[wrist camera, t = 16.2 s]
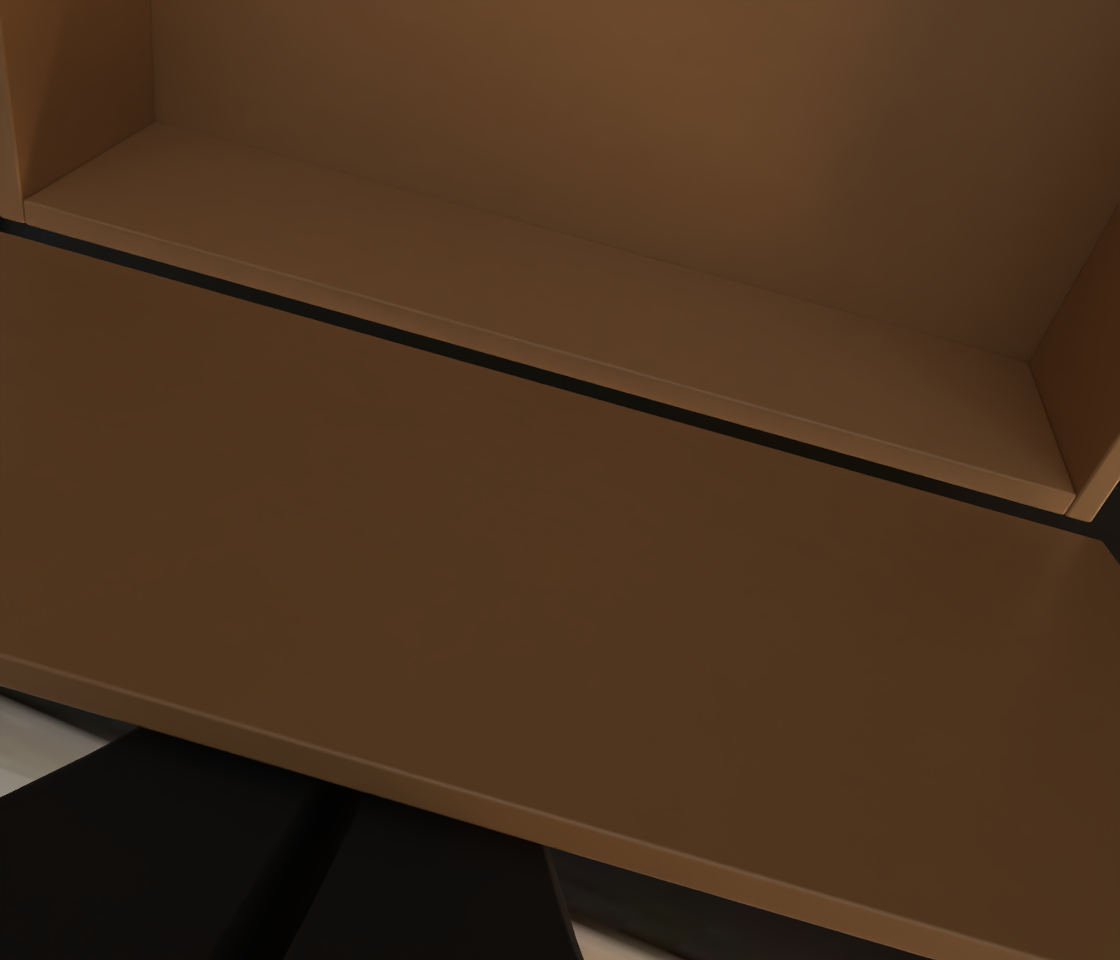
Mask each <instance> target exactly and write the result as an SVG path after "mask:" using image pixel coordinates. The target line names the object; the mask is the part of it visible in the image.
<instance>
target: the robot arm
mask: <svg viewBox="0 0 1120 960" xmlns="http://www.w3.org/2000/svg"><path fill="white" fill-rule="evenodd" d="M0 960H584V959H583V956H582V954H581V951H580V948H579V945H578V942H577V940H576V937H575V933H574V930H573V927H572V923H571V920H570V917H569V913H568V910H567V907H566V903H565V900H564V897H563V893H562V890H561V887H560V883H559V880H558V877H557V873H556V870H555V867H554V863H553V860H552V856H551V852H550V848H549V846H545V845H542V844H539V843H535V842H532V841H528V840H525V839H522V838H518V837H515V836H511V835H508V834H504V833H501V832H498V831H494V830H491V829H487V828H484V827H481V826H477V825H474V824H470V823H467V822H464V821H460V820H457V819H453V818H450V817H446V816H443V815H440V814H436V813H433V812H429V811H426V810H423V809H419V808H416V807H412V806H409V805H406V804H402V803H399V802H395V801H392V800H388V799H385V798H382V797H378V796H375V795H371V794H368V793H365V792H361V791H358V790H354V789H351V788H348V787H344V786H341V785H337V784H334V783H331V782H327V781H324V780H320V779H317V778H313V777H310V776H307V775H303V774H300V773H296V772H293V771H290V770H286V769H283V768H279V767H276V766H273V765H269V764H266V763H262V762H259V761H255V760H252V759H249V758H245V757H242V756H238V755H235V754H232V753H228V752H225V751H221V750H218V749H215V748H211V747H208V746H204V745H201V744H197V743H194V742H191V741H187V740H184V739H180V738H177V737H174V736H170V735H167V734H163V733H160V732H157V731H153V730H150V729H146V728H143V727H140V726H139V727H137V728H136V729H134V730H132V731H130V732H129V733H127V734H125V735H123V736H122V737H120V738H118V739H116V740H114V741H113V742H111V743H109V744H107V745H105V746H103V747H102V748H100V749H98V750H96V751H94V752H92V753H90V754H88V755H86V756H84V757H82V758H80V759H78V760H76V761H74V762H72V763H70V764H68V765H66V766H64V767H62V768H60V769H58V770H56V771H54V772H52V773H49V774H47V775H45V776H43V777H41V778H39V779H37V780H35V781H33V782H31V783H29V784H27V785H25V786H23V787H21V788H19V789H17V790H15V791H13V792H11V793H9V794H6V795H4V796H2V797H0Z"/></svg>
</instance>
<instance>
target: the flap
mask: <svg viewBox="0 0 1120 960" xmlns="http://www.w3.org/2000/svg"><path fill="white" fill-rule="evenodd" d="M0 686H3V687H7V688H10V689H13V690H17V691H20V692H24V693H27V694H30V695H34V696H37V697H41V698H44V699H47V700H51V701H54V702H58V703H61V704H64V705H68V706H71V707H75V708H78V709H82V710H85V711H88V712H92V713H95V714H99V715H102V716H105V717H109V718H112V719H116V720H119V721H122V722H126V723H129V724H133V725H136V726H140V727H143V728H146V729H150V730H153V731H157V732H160V733H163V734H167V735H170V736H174V737H177V738H180V739H184V740H187V741H191V742H194V743H197V744H201V745H204V746H208V747H211V748H215V749H218V750H221V751H225V752H228V753H232V754H235V755H238V756H242V757H245V758H249V759H252V760H255V761H259V762H262V763H266V764H269V765H273V766H276V767H279V768H283V769H286V770H290V771H293V772H296V773H300V774H303V775H307V776H310V777H313V778H317V779H320V780H324V781H327V782H331V783H334V784H337V785H341V786H344V787H348V788H351V789H354V790H358V791H361V792H365V793H368V794H371V795H375V796H378V797H382V798H385V799H388V800H392V801H395V802H399V803H402V804H406V805H409V806H412V807H416V808H419V809H423V810H426V811H429V812H433V813H436V814H440V815H443V816H446V817H450V818H453V819H457V820H460V821H464V822H467V823H470V824H474V825H477V826H481V827H484V828H487V829H491V830H494V831H498V832H501V833H504V834H508V835H511V836H515V837H518V838H522V839H525V840H528V841H532V842H535V843H539V844H542V845H545V846H549V847H552V848H556V849H559V850H562V851H566V852H569V853H573V854H576V855H579V856H583V857H586V858H590V859H593V860H597V861H600V862H603V863H607V864H610V865H614V866H617V867H620V868H624V869H627V870H631V871H634V872H637V873H641V874H644V875H648V876H651V877H655V878H658V879H661V880H665V881H668V882H672V883H675V884H678V885H682V886H685V887H689V888H692V889H695V890H699V891H702V892H706V893H709V894H713V895H716V896H719V897H723V898H726V899H730V900H733V901H736V902H740V903H743V904H747V905H750V906H753V907H757V908H760V909H764V910H767V911H770V912H774V913H777V914H781V915H784V916H788V917H791V918H794V919H798V920H801V921H805V922H808V923H811V924H815V925H818V926H822V927H825V928H828V929H832V930H835V931H839V932H842V933H846V934H849V935H852V936H856V937H859V938H863V939H866V940H869V941H873V942H876V943H880V944H883V945H886V946H890V947H893V948H897V949H900V950H904V951H907V952H910V953H914V954H917V955H921V956H924V957H927V958H931V959H934V960H1120V565H1119V564H1118V562H1117V561H1116V560H1115V558H1114V557H1113V555H1112V554H1111V553H1110V551H1109V550H1108V549H1107V547H1106V546H1105V544H1104V543H1103V542H1102V541H1100V540H1096V539H1093V538H1089V537H1086V536H1082V535H1078V534H1075V533H1071V532H1068V531H1064V530H1061V529H1057V528H1053V527H1050V526H1046V525H1043V524H1039V523H1036V522H1032V521H1029V520H1025V519H1021V518H1018V517H1014V516H1011V515H1007V514H1004V513H1000V512H997V511H993V510H989V509H986V508H982V507H979V506H975V505H972V504H968V503H965V502H961V501H957V500H954V499H950V498H947V497H943V496H940V495H936V494H932V493H929V492H925V491H922V490H918V489H915V488H911V487H908V486H904V485H900V484H897V483H893V482H890V481H886V480H883V479H879V478H876V477H872V476H868V475H865V474H861V473H858V472H854V471H851V470H847V469H843V468H840V467H836V466H833V465H829V464H826V463H822V462H819V461H815V460H811V459H808V458H804V457H801V456H797V455H794V454H790V453H787V452H783V451H779V450H776V449H772V448H769V447H765V446H762V445H758V444H754V443H751V442H747V441H744V440H740V439H737V438H733V437H730V436H726V435H722V434H719V433H715V432H712V431H708V430H705V429H701V428H698V427H694V426H690V425H687V424H683V423H680V422H676V421H673V420H669V419H665V418H662V417H658V416H655V415H651V414H648V413H644V412H641V411H637V410H633V409H630V408H626V407H623V406H619V405H616V404H612V403H609V402H605V401H601V400H598V399H594V398H591V397H587V396H584V395H580V394H576V393H573V392H569V391H566V390H562V389H559V388H555V387H552V386H548V385H544V384H541V383H537V382H534V381H530V380H527V379H523V378H520V377H516V376H512V375H509V374H505V373H502V372H498V371H495V370H491V369H488V368H484V367H480V366H477V365H473V364H470V363H466V362H463V361H459V360H455V359H452V358H448V357H445V356H441V355H438V354H434V353H431V352H427V351H423V350H420V349H416V348H413V347H409V346H406V345H402V344H399V343H395V342H391V341H388V340H384V339H381V338H377V337H374V336H370V335H366V334H363V333H359V332H356V331H352V330H349V329H345V328H342V327H338V326H334V325H331V324H327V323H324V322H320V321H317V320H313V319H310V318H306V317H302V316H299V315H295V314H292V313H288V312H285V311H281V310H277V309H274V308H270V307H267V306H263V305H260V304H256V303H253V302H249V301H245V300H242V299H238V298H235V297H231V296H228V295H224V294H221V293H217V292H213V291H210V290H206V289H203V288H199V287H196V286H192V285H188V284H185V283H181V282H178V281H174V280H171V279H167V278H164V277H160V276H156V275H153V274H149V273H146V272H142V271H139V270H135V269H132V268H128V267H124V266H121V265H117V264H114V263H110V262H107V261H103V260H100V259H96V258H92V257H89V256H85V255H82V254H78V253H75V252H71V251H67V250H64V249H60V248H57V247H53V246H50V245H46V244H43V243H39V242H35V241H32V240H28V239H25V238H21V237H18V236H14V235H11V234H7V233H3V232H0Z"/></svg>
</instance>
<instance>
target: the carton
mask: <svg viewBox="0 0 1120 960" xmlns="http://www.w3.org/2000/svg"><path fill="white" fill-rule="evenodd" d="M0 215H1V217H3V218H6V219H10V220H13V221H17V222H20V223H25V222H26V224H28V225H31V226H35V227H38V228H42V229H45V230H49V231H52V232H56V233H60V234H63V235H67V236H70V237H74V238H77V239H81V240H85V241H88V242H92V243H95V244H99V245H102V246H106V247H109V248H113V249H117V250H120V251H124V252H127V253H131V254H134V255H138V256H142V257H145V258H149V259H152V260H156V261H159V262H163V263H167V264H170V265H174V266H177V267H181V268H184V269H188V270H191V271H195V272H199V273H202V274H206V275H209V276H213V277H216V278H220V279H224V280H227V281H231V282H234V283H238V284H241V285H245V286H249V287H252V288H256V289H259V290H263V291H266V292H270V293H273V294H277V295H281V296H284V297H288V298H291V299H295V300H298V301H302V302H306V303H309V304H313V305H316V306H320V307H323V308H327V309H330V310H334V311H338V312H341V313H345V314H348V315H352V316H355V317H359V318H363V319H366V320H370V321H373V322H377V323H380V324H384V325H388V326H391V327H395V328H398V329H402V330H405V331H409V332H412V333H416V334H420V335H423V336H427V337H430V338H434V339H437V340H441V341H445V342H448V343H452V344H455V345H459V346H462V347H466V348H470V349H473V350H477V351H480V352H484V353H487V354H491V355H494V356H498V357H502V358H505V359H509V360H512V361H516V362H519V363H523V364H527V365H530V366H534V367H537V368H541V369H544V370H548V371H552V372H555V373H559V374H562V375H566V376H569V377H573V378H576V379H580V380H584V381H587V382H591V383H594V384H598V385H601V386H605V387H609V388H612V389H616V390H619V391H623V392H626V393H630V394H633V395H637V396H641V397H644V398H648V399H651V400H655V401H658V402H662V403H666V404H669V405H673V406H676V407H680V408H683V409H687V410H691V411H694V412H698V413H701V414H705V415H708V416H712V417H715V418H719V419H723V420H726V421H730V422H733V423H737V424H740V425H744V426H748V427H751V428H755V429H758V430H762V431H765V432H769V433H773V434H776V435H780V436H783V437H787V438H790V439H794V440H797V441H801V442H805V443H808V444H812V445H815V446H819V447H822V448H826V449H830V450H833V451H837V452H840V453H844V454H847V455H851V456H855V457H858V458H862V459H865V460H869V461H872V462H876V463H879V464H883V465H887V466H890V467H894V468H897V469H901V470H904V471H908V472H912V473H915V474H919V475H922V476H926V477H929V478H933V479H936V480H940V481H944V482H947V483H951V484H954V485H958V486H961V487H965V488H969V489H972V490H976V491H979V492H983V493H986V494H990V495H994V496H997V497H1001V498H1004V499H1008V500H1011V501H1015V502H1018V503H1022V504H1026V505H1029V506H1033V507H1036V508H1040V509H1043V510H1047V511H1051V512H1054V513H1058V514H1065V515H1067V516H1068V517H1072V518H1076V519H1079V520H1083V521H1086V522H1091V521H1092V519H1093V518H1094V517H1095V515H1096V514H1097V512H1098V511H1099V509H1100V508H1101V506H1102V505H1103V503H1104V502H1105V501H1106V499H1107V498H1108V496H1109V495H1110V493H1111V492H1112V490H1113V489H1114V487H1115V486H1116V484H1117V483H1118V482H1119V480H1120V0H0Z"/></svg>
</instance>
